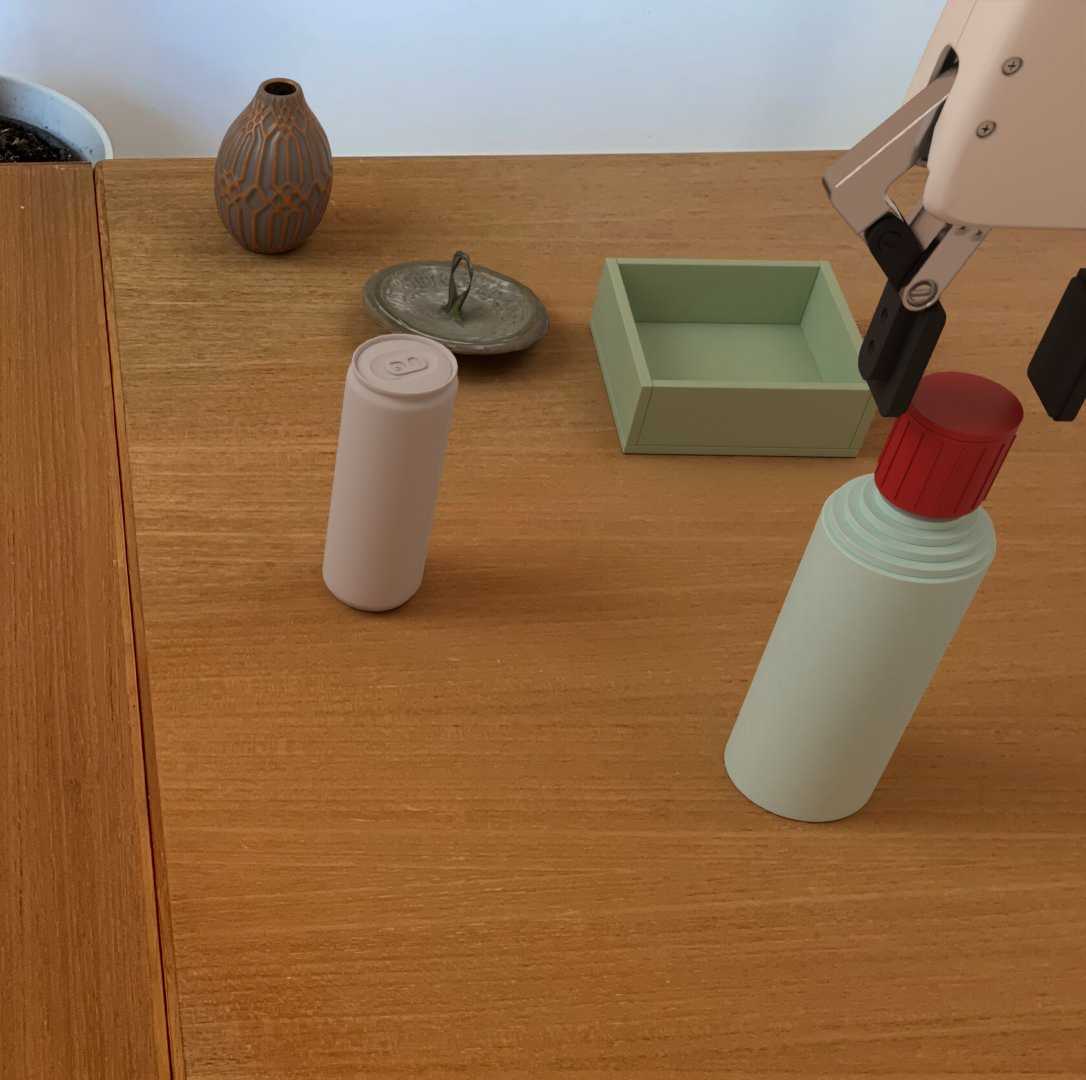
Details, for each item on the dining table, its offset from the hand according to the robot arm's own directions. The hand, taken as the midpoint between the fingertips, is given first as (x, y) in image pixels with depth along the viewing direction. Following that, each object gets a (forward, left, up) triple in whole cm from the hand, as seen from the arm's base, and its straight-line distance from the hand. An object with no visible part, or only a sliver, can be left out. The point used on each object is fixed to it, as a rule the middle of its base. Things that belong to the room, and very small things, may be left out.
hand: (966, 392), depth 59 cm
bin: (-2, -29, -19) cm, 35 cm away
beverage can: (+18, -12, -19) cm, 29 cm away
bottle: (0, 0, -19) cm, 19 cm away
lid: (+12, -34, -19) cm, 41 cm away
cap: (0, 0, -4) cm, 4 cm away
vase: (+22, -44, -19) cm, 53 cm away
